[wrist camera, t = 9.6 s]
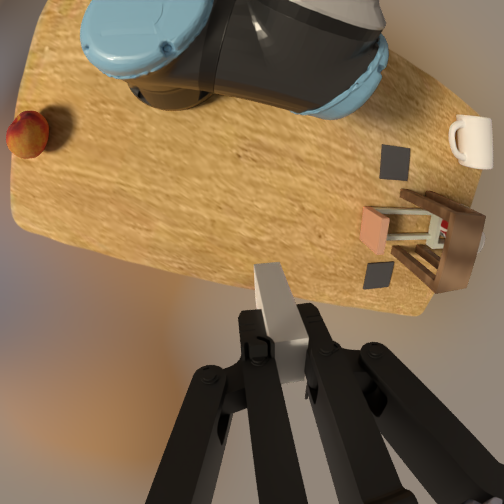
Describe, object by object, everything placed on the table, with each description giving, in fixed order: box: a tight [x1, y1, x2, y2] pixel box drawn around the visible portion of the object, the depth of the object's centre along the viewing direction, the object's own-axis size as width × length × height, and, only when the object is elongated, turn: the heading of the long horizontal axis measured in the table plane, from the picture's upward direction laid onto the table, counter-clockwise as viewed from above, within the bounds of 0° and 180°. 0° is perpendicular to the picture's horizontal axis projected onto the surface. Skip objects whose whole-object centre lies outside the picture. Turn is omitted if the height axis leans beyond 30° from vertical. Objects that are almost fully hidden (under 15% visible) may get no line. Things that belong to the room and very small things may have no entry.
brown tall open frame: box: [391, 189, 486, 294], centre depth 42 cm, size 13×8×15 cm, turn 0°
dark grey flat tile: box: [363, 261, 394, 289], centre depth 53 cm, size 6×6×1 cm
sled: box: [360, 204, 469, 255], centre depth 45 cm, size 9×26×7 cm, turn 90°
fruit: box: [6, 111, 49, 159], centre depth 31 cm, size 8×8×8 cm
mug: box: [449, 115, 493, 169], centre depth 39 cm, size 12×10×8 cm
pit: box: [379, 144, 410, 181], centre depth 44 cm, size 6×6×1 cm
